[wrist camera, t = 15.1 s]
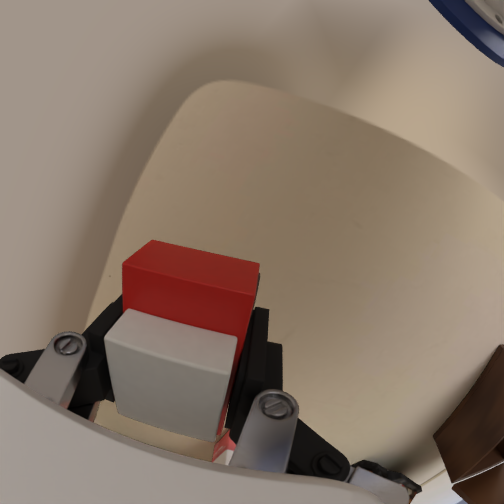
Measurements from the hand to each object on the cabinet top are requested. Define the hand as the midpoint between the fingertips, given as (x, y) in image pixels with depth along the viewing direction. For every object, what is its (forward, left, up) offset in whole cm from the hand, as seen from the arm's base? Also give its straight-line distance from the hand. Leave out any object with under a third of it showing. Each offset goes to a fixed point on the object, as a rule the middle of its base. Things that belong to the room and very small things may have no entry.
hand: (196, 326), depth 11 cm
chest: (+12, +37, -8) cm, 39 cm away
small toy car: (0, 0, 0) cm, 0 cm away
